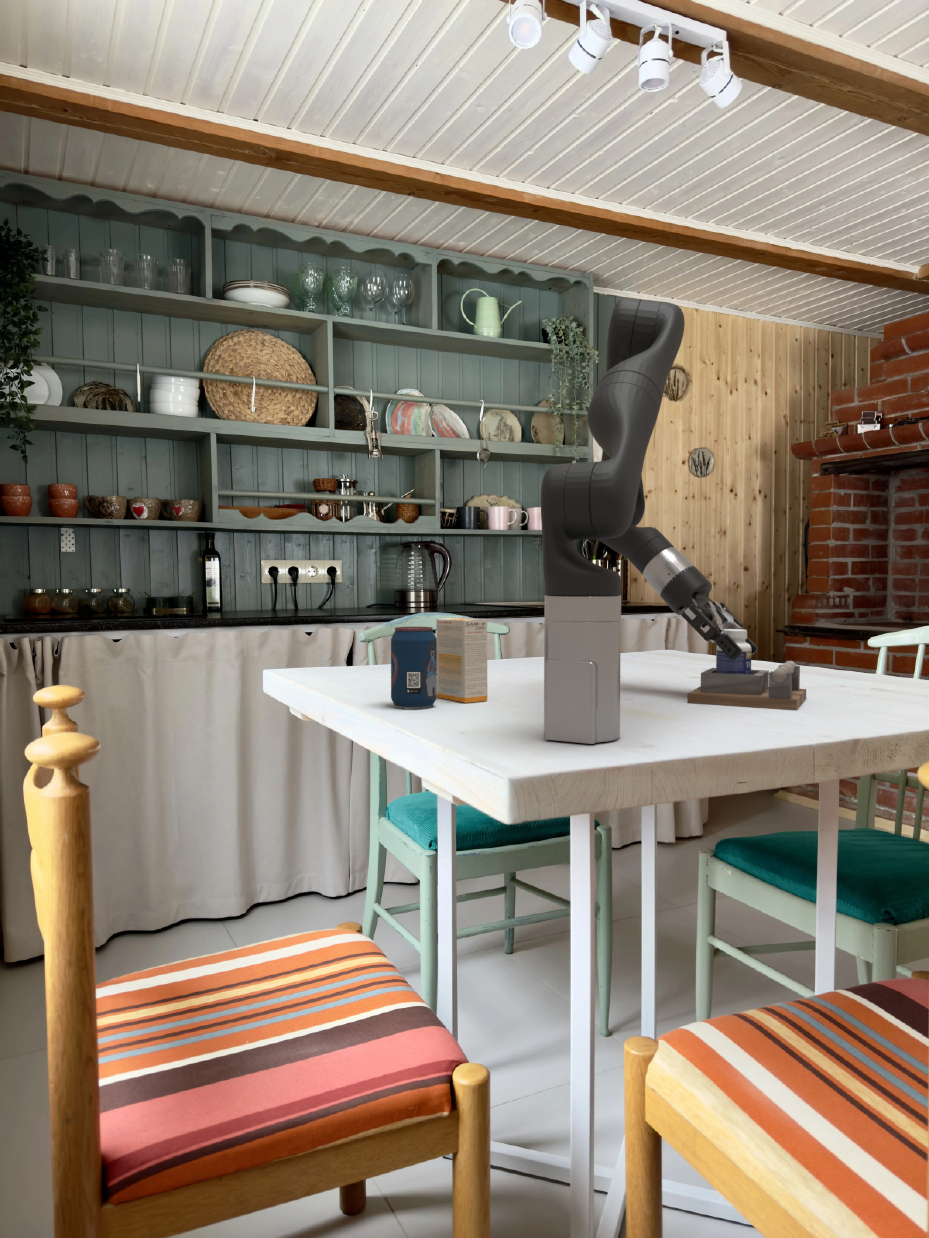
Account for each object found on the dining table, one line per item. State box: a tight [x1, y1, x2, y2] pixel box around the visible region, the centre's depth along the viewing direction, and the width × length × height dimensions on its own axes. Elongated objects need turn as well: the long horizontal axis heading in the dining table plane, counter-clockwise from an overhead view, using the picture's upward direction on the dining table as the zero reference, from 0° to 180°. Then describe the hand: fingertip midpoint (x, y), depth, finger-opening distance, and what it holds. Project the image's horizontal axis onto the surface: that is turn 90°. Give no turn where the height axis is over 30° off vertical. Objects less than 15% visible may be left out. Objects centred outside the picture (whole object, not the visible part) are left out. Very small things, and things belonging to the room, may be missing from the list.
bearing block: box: [686, 660, 807, 711], centre depth 134 cm, size 14×16×6 cm
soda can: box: [390, 626, 437, 710], centre depth 128 cm, size 7×7×12 cm
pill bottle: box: [715, 628, 752, 675], centre depth 135 cm, size 5×5×10 cm
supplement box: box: [435, 617, 488, 704], centre depth 135 cm, size 8×5×13 cm, turn 35°
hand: (745, 654), depth 134 cm, fingers open, 6 cm apart
